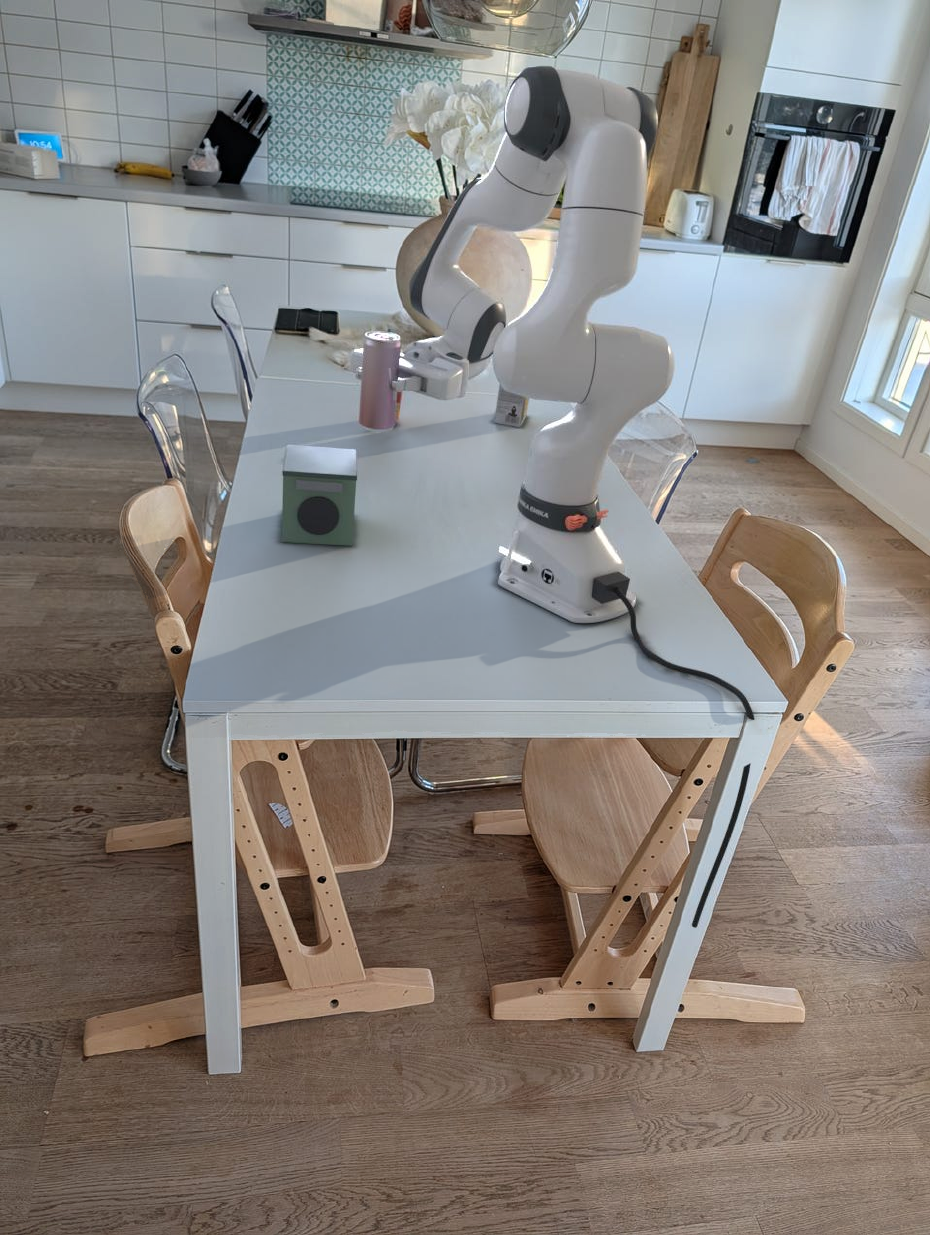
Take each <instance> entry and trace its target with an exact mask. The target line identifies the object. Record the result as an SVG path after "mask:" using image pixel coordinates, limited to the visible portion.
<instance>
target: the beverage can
mask: <svg viewBox="0 0 930 1235" xmlns="http://www.w3.org/2000/svg"><path fill="white" fill-rule="evenodd" d="M362 348H363V357H362V375H361V380H360V395H359V411H358V412H359V413H358V423H359V425H360V427H361V428H362V429H363V430H366V431H368V432H374V433H386V432H387V433H388V432H390V431H392V430H393V429H394V427H395V426H396V424H395V416H396V404H397V391H394V390H392V389H391V381H392V379H395V378H399V365H400V352H401V350H402V343H401V336H400V335H398V334H396V333H393V332H391V333H390V332H388V331H381V330H373V331H372V330H371V331H367V332H366V333H364V339H363V341H362Z"/></svg>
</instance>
